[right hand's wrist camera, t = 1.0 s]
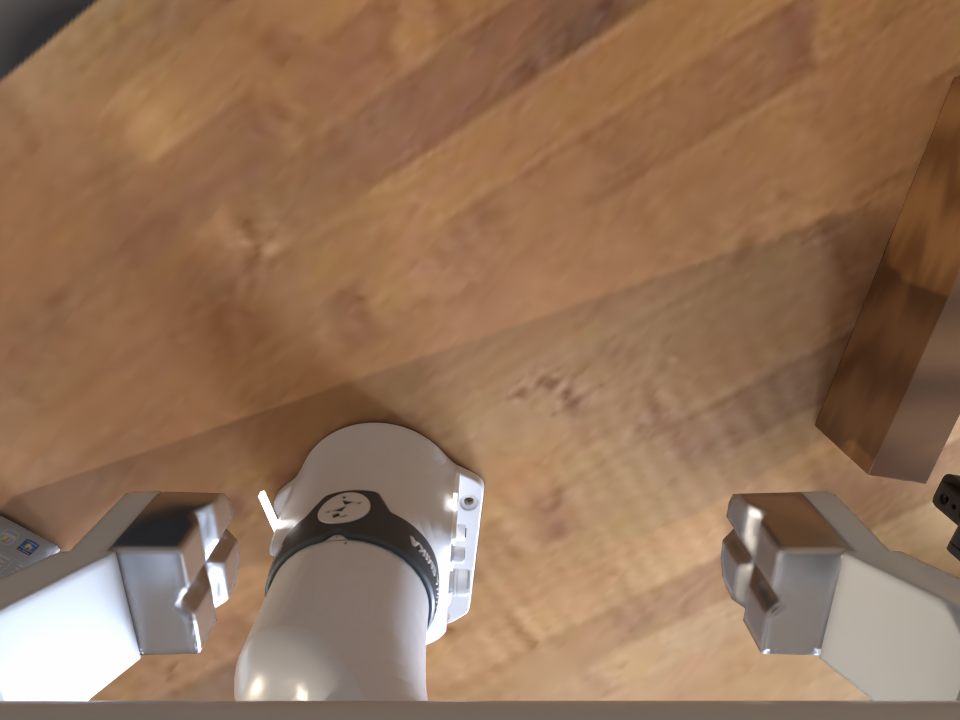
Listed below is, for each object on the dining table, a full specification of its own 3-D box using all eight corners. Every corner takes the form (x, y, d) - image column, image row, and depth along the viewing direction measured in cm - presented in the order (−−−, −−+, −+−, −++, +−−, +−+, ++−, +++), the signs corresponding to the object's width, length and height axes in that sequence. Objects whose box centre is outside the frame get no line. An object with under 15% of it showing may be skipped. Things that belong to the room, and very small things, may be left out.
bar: (954, 77, 45) (1050, 69, 38) (1014, 88, 45) (1122, 83, 38) (814, 425, 55) (868, 475, 47) (865, 433, 55) (926, 484, 48)
